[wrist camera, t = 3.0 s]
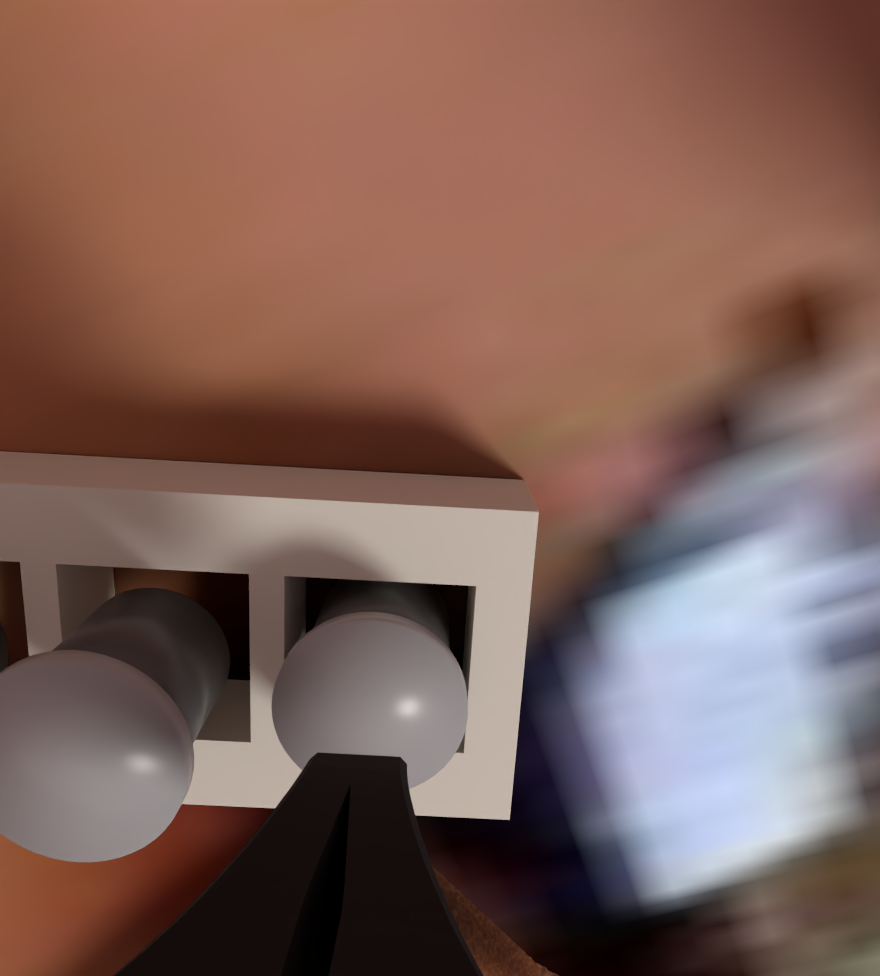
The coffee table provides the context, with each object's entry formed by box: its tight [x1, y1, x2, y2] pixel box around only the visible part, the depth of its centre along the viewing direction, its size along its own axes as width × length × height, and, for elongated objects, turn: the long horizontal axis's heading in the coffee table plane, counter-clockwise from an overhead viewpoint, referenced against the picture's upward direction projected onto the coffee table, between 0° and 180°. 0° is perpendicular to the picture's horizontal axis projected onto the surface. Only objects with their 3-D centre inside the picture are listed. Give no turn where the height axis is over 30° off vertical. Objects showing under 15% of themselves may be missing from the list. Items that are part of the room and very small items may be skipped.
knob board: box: [0, 451, 539, 820], centre depth 16 cm, size 15×7×2 cm, turn 87°
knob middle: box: [0, 588, 230, 862], centre depth 13 cm, size 4×4×4 cm
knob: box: [271, 579, 468, 789], centre depth 15 cm, size 4×4×4 cm
